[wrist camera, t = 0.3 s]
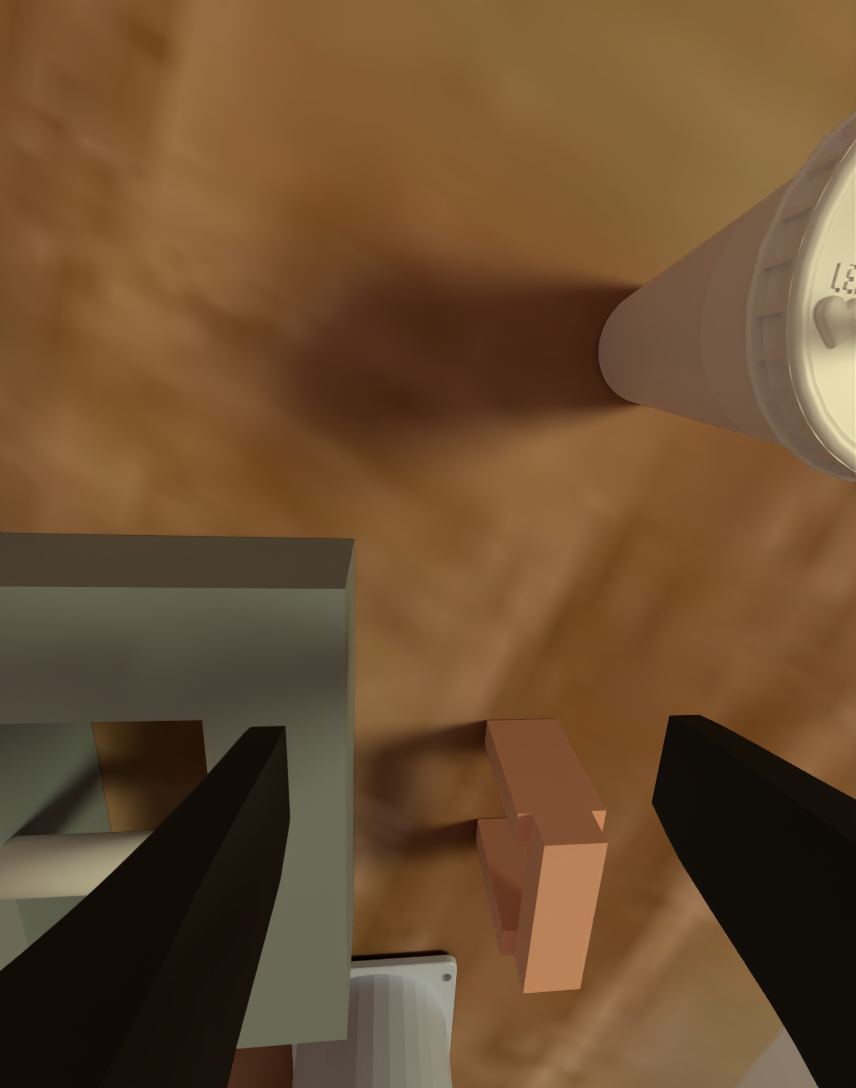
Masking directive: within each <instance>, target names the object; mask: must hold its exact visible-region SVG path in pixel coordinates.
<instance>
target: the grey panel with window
mask: <svg viewBox="0 0 856 1088" xmlns="http://www.w3.org/2000/svg"><path fill="white" fill-rule="evenodd" d="M354 554H355V539H317V538H260V537H203V536H147V535H90V534H33V533H0V970H2V969H3V968H4V967H5V966H6V965H8V964H9V963H10V962H11V961H13V960H14V959H15V958H16V957H17V956H19V955H20V954H21V953H22V952H23V951H24V950H26V949H27V948H28V947H29V946H30V945H31V944H33V943H34V942H35V941H36V940H37V939H38V938H40V937H41V936H42V935H43V934H44V933H45V932H46V931H48V930H49V929H50V928H51V927H52V926H53V925H55V924H56V923H57V922H58V921H59V920H60V919H61V918H63V917H64V916H65V915H66V914H67V913H68V912H69V911H70V910H72V909H73V908H74V907H75V906H76V905H77V904H78V903H79V902H80V901H81V900H83V899H84V898H85V897H86V896H87V895H88V894H89V893H90V892H91V891H92V890H93V889H95V888H96V887H97V886H98V885H99V884H100V883H101V882H102V881H103V880H104V879H105V878H106V877H107V876H108V875H109V874H111V873H112V872H113V871H114V870H115V869H116V868H117V867H118V866H119V865H120V864H121V863H122V862H123V861H124V860H125V859H126V858H127V857H128V856H129V855H130V854H131V853H132V852H133V851H134V850H135V849H136V848H137V847H138V846H139V845H140V844H141V843H142V842H143V841H144V840H145V839H146V838H147V837H148V836H149V835H150V834H151V833H152V832H153V831H154V830H150V831H126V832H111V829H110V823H109V818H108V812H107V807H106V801H105V795H104V790H103V784H102V779H101V773H100V767H99V762H98V756H97V751H96V745H95V739H94V734H93V728H92V722H128V721H181V720H202V725H203V734H204V744H205V754H206V764H207V774H208V773H209V772H210V771H211V770H212V768H213V767H214V766H215V765H216V764H217V763H218V762H219V761H220V759H221V758H222V757H223V756H224V755H225V754H226V753H227V751H228V750H229V749H230V748H231V747H232V746H233V745H234V743H235V742H236V741H237V740H238V739H239V738H240V737H241V735H242V734H243V733H244V732H245V731H246V730H247V729H248V728H250V727H255V726H286V742H287V762H288V781H289V801H290V825H289V831H288V838H287V844H286V850H285V857H284V863H283V869H282V874H281V880H280V885H279V889H278V893H277V896H276V900H275V904H274V908H273V912H272V916H271V919H270V923H269V927H268V931H267V935H266V938H265V942H264V946H263V950H262V953H261V957H260V961H259V965H258V968H257V972H256V976H255V980H254V983H253V987H252V991H251V995H250V998H249V1002H248V1006H247V1010H246V1013H245V1017H244V1021H243V1025H242V1028H241V1032H240V1036H239V1040H238V1043H237V1047H236V1049H240V1048H252V1047H264V1046H276V1045H287V1044H299V1043H311V1042H323V1041H335V1040H346V1039H347V1027H348V1009H349V990H350V971H351V953H352V934H353V916H354Z"/></svg>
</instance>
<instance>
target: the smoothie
mask: <svg viewBox="0 0 856 1088" xmlns="http://www.w3.org/2000/svg"><path fill="white" fill-rule="evenodd" d="M598 356H599V365H600V369H601V372H602V375H603V377H604V379H605V381H606V383H607V384H608V386H609V387H610V388H611V389H612V390H613V391H614V392H615V393H616V394H617V395H618V396H620V397H621V398H623V399H625V400H627V401H630V402H633V403H637V404H640V405H644V406H647V407H651V408H654V409H658V410H661V411H665V412H668V413H672V414H675V415H679V416H682V417H686V418H689V419H693V420H696V421H699V422H703V423H706V424H710V425H713V426H717V427H720V428H724V429H727V430H731V431H734V432H738V433H741V434H745V435H748V436H752V437H755V438H759V439H761V440H764V441H767V442H770V443H774V444H778V445H782V446H784V447H786V448H787V449H788V450H789V451H790V452H791V453H792V454H794V455H795V456H796V457H797V458H798V459H799V460H801V461H802V462H803V463H804V464H805V465H806V466H808V467H810V468H813V469H815V470H818V471H820V472H823V473H825V474H828V475H830V476H833V477H835V478H838V479H841V480H843V481H852V482H856V110H855V111H854V112H853V113H852V114H851V115H849V116H848V117H847V118H846V119H845V120H844V121H843V122H841V123H840V124H839V125H838V126H837V127H836V128H835V129H833V130H832V131H831V132H830V133H829V134H828V135H827V136H826V137H824V138H823V139H822V141H821V142H820V143H819V145H818V146H817V147H816V149H815V150H814V152H813V153H812V154H811V156H810V157H809V158H808V160H807V161H806V162H805V164H804V165H803V166H802V168H801V169H800V171H799V172H798V173H797V175H796V176H795V177H794V178H792V179H791V180H789V181H788V182H787V183H785V184H784V185H782V186H781V187H779V188H778V189H776V190H775V191H774V192H773V193H771V194H770V195H769V196H768V197H766V198H765V199H764V200H762V201H761V202H760V203H758V204H757V205H755V206H754V207H753V208H751V209H750V210H748V211H747V212H746V213H744V214H743V215H741V216H740V217H739V218H737V219H736V220H734V221H733V222H732V223H730V224H729V225H727V226H726V227H725V228H723V229H722V230H721V231H719V232H718V233H716V234H715V235H714V236H712V237H711V238H709V239H708V240H707V241H705V242H704V243H702V244H701V245H700V246H698V247H697V248H695V249H694V250H693V251H691V252H690V253H688V254H687V255H686V256H684V257H683V258H681V259H680V260H679V261H677V262H676V263H674V264H673V265H672V266H670V267H669V268H668V269H666V270H665V271H663V272H662V273H661V274H659V275H658V276H656V277H655V278H654V279H652V280H651V281H649V282H648V283H647V284H645V285H644V286H642V287H641V288H640V289H638V290H637V291H635V292H634V293H633V294H631V295H630V296H628V297H627V298H626V299H624V300H623V301H622V302H621V303H620V304H619V305H618V306H617V307H616V308H615V309H614V310H613V312H612V313H611V314H610V316H609V318H608V319H607V321H606V323H605V325H604V328H603V330H602V333H601V337H600V341H599V349H598Z"/></svg>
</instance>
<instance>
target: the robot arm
mask: <svg viewBox="0 0 856 1088" xmlns="http://www.w3.org/2000/svg"><path fill="white" fill-rule="evenodd" d="M652 804H653V806H654V809H655V811H656V813H657V815H658V817H659V819H660V821H661V824H662V826H663V828H664V830H665V832H666V834H667V836H668V838H669V840H670V842H671V844H672V846H673V848H674V850H675V852H676V854H677V856H678V858H679V860H680V861H681V863H682V865H683V866H684V868H685V870H686V871H687V873H688V874H689V876H690V878H691V879H692V881H693V882H694V884H695V886H696V887H697V889H698V890H699V892H700V894H701V895H702V897H703V898H704V900H705V901H706V903H707V905H708V906H709V908H710V909H711V911H712V913H713V914H714V916H715V917H716V919H717V920H718V922H719V923H720V925H721V927H722V928H723V930H724V931H725V933H726V934H727V936H728V938H729V939H730V941H731V942H732V944H733V945H734V947H735V948H736V950H737V952H738V953H739V955H740V956H741V958H742V959H743V961H744V963H745V964H746V966H747V967H748V969H749V970H750V972H751V974H752V975H753V977H754V978H755V980H756V981H757V983H758V984H759V986H760V988H761V989H762V991H763V992H764V994H765V995H766V997H767V999H768V1000H769V1002H770V1003H771V1005H772V1007H773V1008H774V1010H775V1012H776V1013H777V1015H778V1017H779V1018H780V1020H781V1022H782V1023H783V1025H784V1027H785V1028H786V1030H787V1032H788V1033H789V1035H790V1037H791V1038H792V1040H793V1042H794V1043H795V1045H796V1047H797V1049H798V1051H799V1053H800V1054H801V1056H802V1058H803V1060H804V1062H805V1064H806V1066H807V1067H808V1069H809V1071H810V1073H811V1075H812V1077H813V1078H814V1080H815V1082H816V1084H817V1086H818V1087H819V1088H856V799H854V798H852V797H850V796H848V795H846V794H845V793H843V792H841V791H839V790H837V789H835V788H834V787H832V786H830V785H828V784H826V783H825V782H823V781H821V780H819V779H817V778H816V777H814V776H812V775H810V774H808V773H807V772H805V771H803V770H801V769H799V768H798V767H796V766H794V765H792V764H791V763H789V762H787V761H785V760H783V759H782V758H780V757H778V756H776V755H775V754H773V753H771V752H769V751H767V750H766V749H764V748H762V747H760V746H759V745H757V744H755V743H753V742H751V741H750V740H748V739H746V738H744V737H742V736H740V735H739V734H737V733H735V732H733V731H731V730H729V729H727V728H725V727H724V726H722V725H720V724H718V723H716V722H714V721H712V720H709V719H707V718H705V717H703V716H701V715H674V716H669V720H668V725H667V730H666V735H665V740H664V745H663V750H662V755H661V760H660V764H659V769H658V774H657V779H656V784H655V789H654V794H653V799H652ZM289 825H290V801H289V781H288V762H287V742H286V726H255V727H250V728H248V729H247V730H246V731H245V732H244V733H243V734H242V735H241V737H240V738H239V739H238V740H237V741H236V742H235V743H234V745H233V746H232V747H231V748H230V749H229V750H228V751H227V753H226V754H225V755H224V756H223V757H222V758H221V759H220V761H219V762H218V763H217V764H216V765H215V766H214V767H213V768H212V770H211V771H210V772H209V773H208V774H207V775H206V776H205V777H204V778H203V780H202V781H201V782H200V783H199V784H198V785H197V786H196V787H195V788H194V789H193V790H192V791H191V793H190V794H189V795H188V796H187V797H186V798H185V799H184V800H183V801H182V802H181V803H180V804H179V805H178V806H177V807H176V808H175V810H174V811H173V812H172V813H171V814H170V815H169V816H168V817H167V818H166V819H165V820H164V821H163V822H162V823H161V824H160V825H159V826H158V827H157V828H156V829H155V830H154V831H153V832H152V833H151V834H150V835H149V836H148V837H147V838H146V839H145V840H144V841H143V842H142V843H141V844H140V845H139V846H138V847H137V848H136V849H135V850H134V851H133V852H132V853H131V854H130V855H129V856H128V857H127V858H126V859H125V860H124V861H123V862H122V863H121V864H120V865H119V866H118V867H117V868H116V869H115V870H114V871H113V872H112V873H111V874H109V875H108V876H107V877H106V878H105V879H104V880H103V881H102V882H101V883H100V884H99V885H98V886H97V887H96V888H95V889H93V890H92V891H91V892H90V893H89V894H88V895H87V896H86V897H85V898H84V899H83V900H81V901H80V902H79V903H78V904H77V905H76V906H75V907H74V908H73V909H72V910H70V911H69V912H68V913H67V914H66V915H65V916H64V917H63V918H61V919H60V920H59V921H58V922H57V923H56V924H55V925H53V926H52V927H51V928H50V929H49V930H48V931H46V932H45V933H44V934H43V935H42V936H41V937H40V938H38V939H37V940H36V941H35V942H34V943H33V944H31V945H30V946H29V947H28V948H27V949H26V950H24V951H23V952H22V953H21V954H20V955H19V956H17V957H16V958H15V959H14V960H13V961H11V962H10V963H9V964H8V965H6V966H5V967H4V968H3V969H2V970H0V1088H227V1085H228V1081H229V1076H230V1072H231V1068H232V1064H233V1059H234V1055H235V1051H236V1047H237V1043H238V1040H239V1036H240V1032H241V1028H242V1025H243V1021H244V1017H245V1013H246V1010H247V1006H248V1002H249V998H250V995H251V991H252V987H253V983H254V980H255V976H256V972H257V968H258V965H259V961H260V957H261V953H262V950H263V946H264V942H265V938H266V935H267V931H268V927H269V923H270V919H271V916H272V912H273V908H274V904H275V900H276V896H277V893H278V889H279V885H280V880H281V874H282V869H283V863H284V857H285V850H286V844H287V838H288V831H289ZM456 973H457V966H456V959H455V958H454V957H453V956H451V955H436V956H421V957H407V958H392V959H378V960H363V961H351V971H350V990H349V1009H348V1027H347V1039H346V1040H335V1041H323V1042H311V1043H299V1044H292V1055H293V1074H294V1075H293V1083H292V1088H452V1081H451V1071H450V1061H449V1054H450V1042H451V1031H452V1019H453V1008H454V996H455V985H456Z"/></svg>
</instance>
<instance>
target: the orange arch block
mask: <svg viewBox="0 0 856 1088" xmlns="http://www.w3.org/2000/svg"><path fill="white" fill-rule="evenodd" d="M485 747H486V751H487V754H488V757H489V761H490V764H491V767H492V771H493V774H494V777H495V781H496V784H497V787H498V791H499V794H500V797H501V801H502V804H503V807H504V811H505V814H506V818H496V819H478V822H477V832H476V844H477V848H478V853H479V858H480V862H481V867H482V872H483V876H484V881H485V886H486V890H487V895H488V900H489V904H490V909H491V914H492V918H493V923H494V928H495V932H496V937H497V942H498V946H499V951H500V956H501V955H514V957H515V961H516V965H517V970H518V974H519V978H520V982H521V986H522V990H523V993H533V992H545V991H558V990H571V989H580V986H581V981H582V975H583V970H584V965H585V960H586V955H587V949H588V944H589V939H590V934H591V928H592V923H593V918H594V913H595V908H596V902H597V897H598V892H599V887H600V882H601V876H602V871H603V866H604V861H605V855H606V850H607V845H608V842H607V840H606V838H605V836H604V834H603V832H602V830H603V825H604V820H605V814H606V809H605V807H604V805H603V804H602V802H601V800H600V798H599V796H598V794H597V793H596V791H595V789H594V787H593V785H592V783H591V782H590V780H589V778H588V776H587V774H586V772H585V771H584V769H583V767H582V765H581V763H580V761H579V760H578V758H577V756H576V754H575V752H574V750H573V749H572V747H571V745H570V743H569V741H568V739H567V738H566V736H565V734H564V732H563V730H562V729H561V727H560V725H559V723H558V721H557V719H527V720H487V725H486V735H485Z"/></svg>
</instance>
